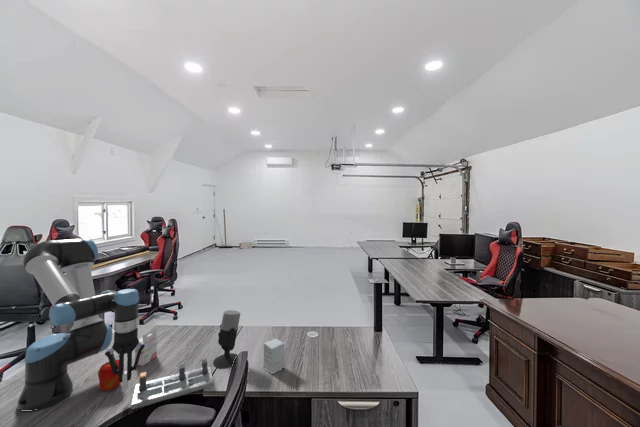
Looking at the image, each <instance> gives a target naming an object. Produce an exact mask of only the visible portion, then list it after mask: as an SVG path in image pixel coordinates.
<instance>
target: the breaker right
mask: <svg viewBox="0 0 640 427" xmlns="http://www.w3.org/2000/svg"><path fill="white" fill-rule="evenodd" d="M207 366H208V359H207V358H205V359H204V358H203V359H202V360H201V368H202V371H200V375H203V374H206V373H208V369H207Z"/></svg>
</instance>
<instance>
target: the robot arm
mask: <svg viewBox="0 0 640 427" xmlns="http://www.w3.org/2000/svg"><path fill="white" fill-rule="evenodd" d="M98 257H99V249H98V246H97V244H96V243H95V241H94V240H92V238H91V239H90V238H80V237H79V238H69V239H68V238H67V239H54V240H53V239H52V240H51V239H50V240H43V241H42V242H39V243H37V244H34V245H33V246H31V247H30V248H29V249H28V251H26V252H25V255H24V257H23V261H22V264H23V267H24V269H25V271H26V272H27V273H28V274H30V275H33V276H34V278H35V280H36V281H37V283H38V285H39V286H40V288H41V289H42V291H43V293H44V294H45V295H46V297H47V298H48V301H49V302H50V303H51V305H52V306H51V307H50V308H49V312H48V318H49V322H50V324H51V325H53V326H54V327H55V326H56V327H57V326H62V325H67V324H71V323H73V325H72V326H71V328H70V329H69V334H67V333H66V332H59V333H56V334H50V335H47V336H44V337H42V338H40V339H38V340H36V341H34V342H32V344H30V345H29V346H28V347H27V349H26V351H25V356H24V357H25V358H24V362H25V367H24V368H25V369H24V370H25V371H24V374H25V375H24V376H25V377H24V387H23V389H22V391H21V394H20V395H19V398H18V400H17V409H18V408H19V409H20V410H35V409H40V410H42V408H43V409H46V408H48V406H49V407H51V406H53V405H56V404H58V403H59V402H61V401H62V400H64V399H66V398H67V397H68V396H70V394H71V393H72V391H73V388H74V387H73V384H74V383H73V380H72V379H71V377H70V375H69V373H68V365H71V364H74V363H76V362H79V361H81V360H84V359H86V358H88V357H91V356H95V355H97V354H99V353H101V352H103V351H105V353H104V355H105V356H106V357H107V358H108V362H110V365H111V369H112V372H113V374H114V375H115V374H118V375H119V383H120V384H122V385H121V392H125V391H128V387H129V381H131V380H132V372H133V371H136V370H137V367H138V366H139V365H138V361H139V358H140V354H141V351H142V350H143V348H144V347H145V342H143V343H141V342H139V339H140V338H139V335H138V334H139V332H138V330H139V328H138V326H139V303H140V302H139V300H140V297H139V291H138V290H137V289H136V288H125V289H120V290H118V291H117V290H109V289H108V290H104V291H102V292H101V293H99V294H98V295H97V294H96V292H95V291H96V290H95V286H94V281H93V275H92V269H91V268H92V267H93V266H94V265H95V263H94V262H96V261H97V259H98ZM110 312H111V313H114V318H113V319H114V327H113V328H112V326H111V324H110V323H107V322H105V319H103V318H100V316H99V315H101V314H102V315H103V314H105V313H106V314H107V313H110ZM113 331H114V333H113ZM112 340H113V344H112V346H111V347H110V345H111V342H112ZM137 345H138V353H137V356H136V359H135V358H134V363H133V351H135V347H136V346H137ZM109 347H110V348H109ZM114 352H116V353H117V354H118V360H119V369H118V367H117V364H116V360H117V359H116V358H115V354H114ZM125 355H126V356H127V357H126V358H127V360H126V362H127V363H126V364H127V366H126V370H125ZM45 407H46V408H45Z"/></svg>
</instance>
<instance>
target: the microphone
mask: <svg viewBox="0 0 640 427" xmlns="http://www.w3.org/2000/svg"><path fill="white" fill-rule="evenodd" d="M240 319H241V312H240V311H237V310H225V311H224V312H223V315H222V320H221V324H220V325H219V332H218V333H217V335H218V340H217V342H218V344H219V346H220V347H221V349H222V350H223V351H224V352H223V353H224V354H220V355H219V356H217V357H216V358H214V360H213V362H212V365H213V367H214V368H216V369H220V370H225V368H227V369H230V368H233V367H232V364H233V361H234V359H235V357H236V356H237V355H238V354H236V353H234V352H233V353H231V351H232V350H234V348H235V345H236V340H237V334H238V329H239V324H240Z"/></svg>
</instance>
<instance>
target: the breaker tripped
mask: <svg viewBox="0 0 640 427" xmlns="http://www.w3.org/2000/svg"><path fill="white" fill-rule="evenodd" d="M146 382H147V371H145V372H141V373H140V374H139V383H140V387H139V389H138V391H142V390H145V389H147V388H148V385H146Z"/></svg>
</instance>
